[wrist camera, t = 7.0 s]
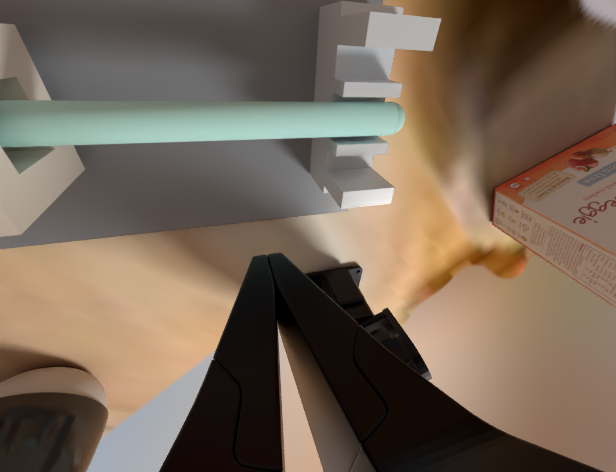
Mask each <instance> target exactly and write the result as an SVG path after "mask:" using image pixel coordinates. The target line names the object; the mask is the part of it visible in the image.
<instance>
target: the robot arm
mask: <svg viewBox="0 0 616 472" xmlns="http://www.w3.org/2000/svg"><path fill="white" fill-rule="evenodd" d="M361 274H362V268H361V267H360V266H352V267H347V268H341V269H335V270H329V271H323V272H317V273H311V274H307V275H305V274H304V273H303V272H302V271H301V270H300V269H298V268H297V267H296V266H295V265H294V264H293V263H292V262H291V261H290V260H289V259H288V258H286V257H285V256H284V255H283V254H282V253H274V254H269V255H268V257H267V256H266V255H261V256H255V257H253V258H252V260H251V263H250V265H249V268H248V271H247V273H246V276H245V278H244V281H243V283H242V286H241V288H240V291H239V293H238V296H237V298H236V301H235V303H234V306H233V308H232V311H231V313H230V316H229V319H228V321H227V324H226V326H225V329H224V331H223V334H222V336H221V339H220V341H219V344H218V346H217V349H216V351H215V354H214V357H213V358H214V359H213V360H212V361H211V364H210V366H209V369H208V371H207V374H206V376H205V379H204V381H203V383H202V386H201V388H200V390H199V393H198V395H197V397H196V399H195V402H194V404H193V406H192V408H191V410H190V412H189V414H188V416H187V418H186V420H185V422H184V424H183V426H182V428H181V430H180V432H179V434H178V436H177V438H176V440H175V442H174V444H173V446H172V448H171V450H170V452H169V453H168V455H167V457H166V459H165V461H164V463H163V465H162V467H161V469H160V471H159V472H285V461H284V440H283V420H282V401H281V382H280V364H279V363H280V362H279V343H278V328H279V332H280V335H281V338H282V341H283V344H284V348H285V351H286V354H287V357H288V360H289V363H290V366H291V370H292V373H293V376H294V379H295V382H296V385H297V389H298V392H299V395H300V398H301V401H302V404H303V408H304V411H305V414H306V417H307V420H308V423H309V427H310V430H311V433H312V436H313V439H314V442H315V445H316V448H317V452H318V455H319V458H320V461H321V464H322V467H323V471H324V472H603V471H601V470H598V469H596V468H593V467H591V466H588V465H586V464H583V463H581V462H578V461H576V460H573V459H571V458H568V457H566V456H563V455H560V454H558V453H555V452H553V451H550V450H548V449H545V448H542V447H540V446H537V445H535V444H532V443H530V442H527V441H525V440H522V439H520V438H517V437H515V436H512V435H510V434H508V433H506V432H504V431H502V430H500V429H497V428H496V427H494V426H492V425H490V424H488V423H487V422H485V421H483V420H482V419H480V418H478V417H477V416H475V415H473V414H472V413H471V412H469V411H468V410H467V409H465V408H464V407H463V406H461V405H460V404H459V403H457V402H456V401H454V400H453V399H452V398H450V397H449V396H448V395H446V394H445V393H444V392H443V391H441V390H440V389H438V388H437V387H436V386H434V385H433V384H432V383H431V382H429V381H428V380H430V379H431V378H432V377H431V374H430V372H429V370H428V368H427V366H426V364H425V362H424V361H423V359H422V357H421V355H420V354H419V352H418V350H417V349H416V347H415V346H414V344H413V343H412V341H411V340H410V338H409V337H408V335H407V334H406V333H405V331H404V330H403V329H402V327H401V326H400V324H399V323H398V322H397V320H396V319H395V317H394V316H393V315H392V313H391V312H390V310H389V309H388V308H386V309H384V310H382V312H380V313H378V314H376V315H374V314H373V313H372V311H371V309H370V307H369V306H368V304H367V302H366V300H365V298H364V296H363V294H362V293H361V291H360V289H359V283H360V279H361ZM277 324H278V325H277Z"/></svg>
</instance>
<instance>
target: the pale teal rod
mask: <svg viewBox="0 0 616 472" xmlns="http://www.w3.org/2000/svg"><path fill="white" fill-rule="evenodd" d="M404 121H405V112H404V110H403V108H402V107H401V106H400V105H399V104H397V103H394V102H265V101H66V100H0V146H1V147H34V146H65V145H97V144H128V143H160V142H192V141H223V140H255V139H287V138H318V137H350V136H382V135H392V134H394V133H396V132H398V131H399V130H400V129H401V128H402V126H403V124H404Z"/></svg>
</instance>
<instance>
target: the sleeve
mask: <svg viewBox="0 0 616 472" xmlns="http://www.w3.org/2000/svg"><path fill="white" fill-rule="evenodd" d="M0 100H51V98H50V96H49V94H48V92H47V90H46V88H45V86H44V84H43V82H42V80H41V78H40V75H39V73H38V71H37V69H36V67H35V65H34V63H33V61H32V59H31V57H30V55H29V53H28V51H27V49H26V47H25V45H24V43H23V41H22V39H21V37H20V34H19V32H18V30H17V28H16V26H15V24H3V23H0ZM84 170H85V168H84V166H83V164H82V162H81V160H80V158H79V156H78V153H77V151H76V149H75V147H74V145H65V146H34V147H1V146H0V237H5V236H15V235H21V234H22V233H23V232H24V231H25V230H26V229H27V228H28V227H29V226H30V225H31V224H32V223H33V222H34V221H35V220H36V219H37V218H38V217H39V216H40V215H41V214H42V213H43V212H44V211H45V210H46V209H47V208H48V207H49V206H50V205H51V204H52V203H53V202H54V201H55V200H56V199H57V198H58V197H59V196H60V195H61V194H62V193H63V191H64V190H65V189H66V188H67V187H68V186H69V185H70V184H71V183H72V182H73V181H74V180H75V179H76V178H77V177H78V176H79V175H80V174H81V173H82V172H83V171H84Z"/></svg>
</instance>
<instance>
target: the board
mask: <svg viewBox="0 0 616 472" xmlns="http://www.w3.org/2000/svg"><path fill="white" fill-rule="evenodd" d="M382 4H383V0H0V23H3V24H15V26H16V28H17V30H18V32H19V34H20V37H21V39H22V41H23V43H24V45H25V47H26V49H27V51H28V53H29V55H30V57H31V59H32V61H33V63H34V65H35V67H36V69H37V71H38V73H39V75H40V78H41V80H42V82H43V84H44V86H45V88H46V90H47V92H48V94H49V96H50V98H51V100H66V101H265V102H384V101H385V97H394V98H400V94H401V90H402V85H403V83H399V82H395V81H391V80H389V77H390V72H391V67H392V63H393V58H394V53H395V49H406V50H422V51H433V48H434V44H435V41H436V37H437V33H438V30H439V26H440V22H441V19H439V18H429V17H420V16H410V15H402V14H403V9H404V8H403V7H394V6H385V5H382ZM388 145H389V143H388V142H386V141H385V140H383V139H381V138H380V137H378V136H350V137H318V138H287V139H255V140H223V141H192V142H160V143H128V144H97V145H74V147H75V149H76V151H77V153H78V156H79V158H80V160H81V162H82V164H83V166H84V168H85V170H84V171H83V172H82V173H81V174H80V175H79V176H78V177H77V178H76V179H75V180H74V181H73V182H72V183H71V184H70V185H69V186H68V187H67V188H66V189H65V190H64V191H63V193H62V194H61V195H60V196H59V197H58V198H57V199H56V200H55V201H54V202H53V203H52V204H51V205H50V206H49V207H48V208H47V209H46V210H45V211H44V212H43V213H42V214H41V215H40V216H39V217H38V218H37V219H36V220H35V221H34V222H33V223H32V224H31V225H30V226H29V227H28V228H27V229H26V230H25V231H24V232H23V233H22V234H21V235H15V236H5V237H0V249H6V248H15V247H24V246H34V245H43V244H52V243H61V242H70V241H79V240H88V239H97V238H106V237H115V236H124V235H133V234H142V233H151V232H161V231H170V230H179V229H188V228H197V227H206V226H215V225H224V224H233V223H242V222H251V221H260V220H269V219H278V218H288V217H297V216H306V215H315V214H324V213H333V212H342V211H348V208H354V207H364V206H373V205H382V204H390V203H391V199H392V196H393V192H394V188H395V187H394V186H392V185H391V184H390V183H389V182H388V181H386V180H385V179H384V178H383V177H382V176H380V175H379V174H378V173H377V172H376V171H374V170H373V169H372V168H371V164H372V160H373V155H379V154H386V153H387V149H388Z"/></svg>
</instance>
